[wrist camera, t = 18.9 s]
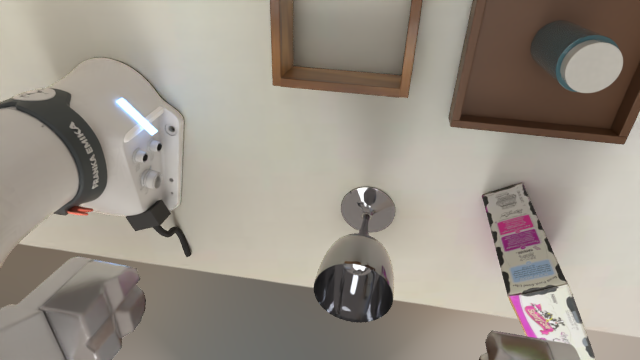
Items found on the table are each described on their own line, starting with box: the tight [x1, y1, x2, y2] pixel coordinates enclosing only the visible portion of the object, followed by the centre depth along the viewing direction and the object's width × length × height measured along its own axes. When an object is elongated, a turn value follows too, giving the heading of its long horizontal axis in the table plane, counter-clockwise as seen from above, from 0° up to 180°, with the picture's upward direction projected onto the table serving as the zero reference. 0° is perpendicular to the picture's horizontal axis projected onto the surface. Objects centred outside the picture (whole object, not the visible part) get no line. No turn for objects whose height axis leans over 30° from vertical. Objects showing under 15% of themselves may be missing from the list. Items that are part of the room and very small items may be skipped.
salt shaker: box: [530, 20, 623, 93], centre depth 33 cm, size 4×4×9 cm
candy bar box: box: [482, 183, 596, 360], centre depth 41 cm, size 11×5×16 cm, turn 30°
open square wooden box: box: [270, 0, 423, 98], centre depth 38 cm, size 14×14×5 cm
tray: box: [449, 0, 640, 144], centre depth 37 cm, size 17×17×3 cm
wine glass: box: [314, 187, 395, 322], centre depth 45 cm, size 8×8×15 cm
